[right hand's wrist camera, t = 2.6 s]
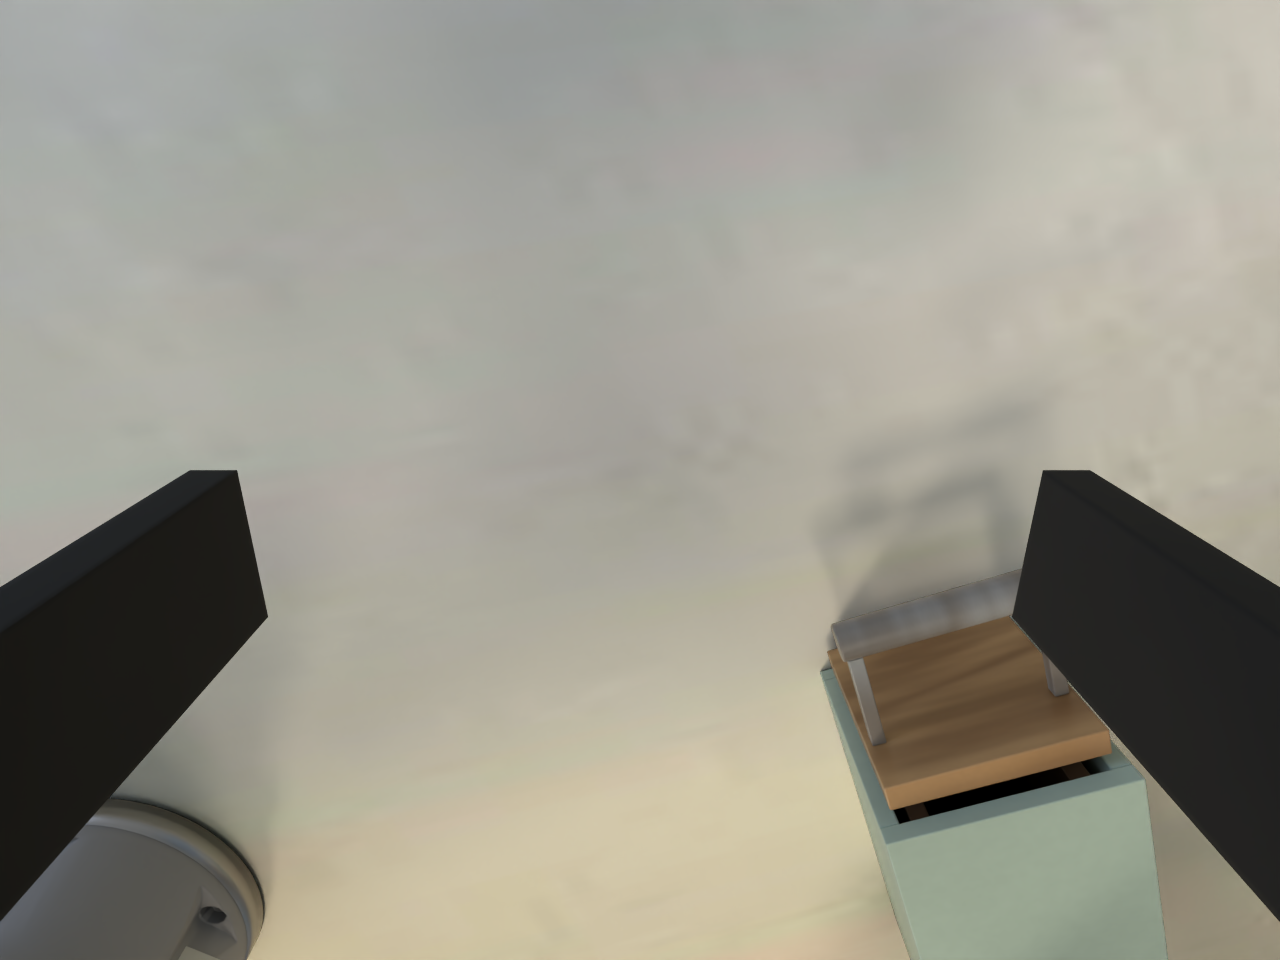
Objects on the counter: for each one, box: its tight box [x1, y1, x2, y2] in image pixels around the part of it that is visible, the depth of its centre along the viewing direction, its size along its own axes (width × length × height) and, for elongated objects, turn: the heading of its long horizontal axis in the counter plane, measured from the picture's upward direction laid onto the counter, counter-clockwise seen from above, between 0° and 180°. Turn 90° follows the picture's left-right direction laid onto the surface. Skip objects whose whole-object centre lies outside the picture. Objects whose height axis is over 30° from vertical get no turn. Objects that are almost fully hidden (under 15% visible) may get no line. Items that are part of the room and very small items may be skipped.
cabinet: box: [820, 669, 1168, 960], centre depth 36 cm, size 19×10×11 cm, turn 19°
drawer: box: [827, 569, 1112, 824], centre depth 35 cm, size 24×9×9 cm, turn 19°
